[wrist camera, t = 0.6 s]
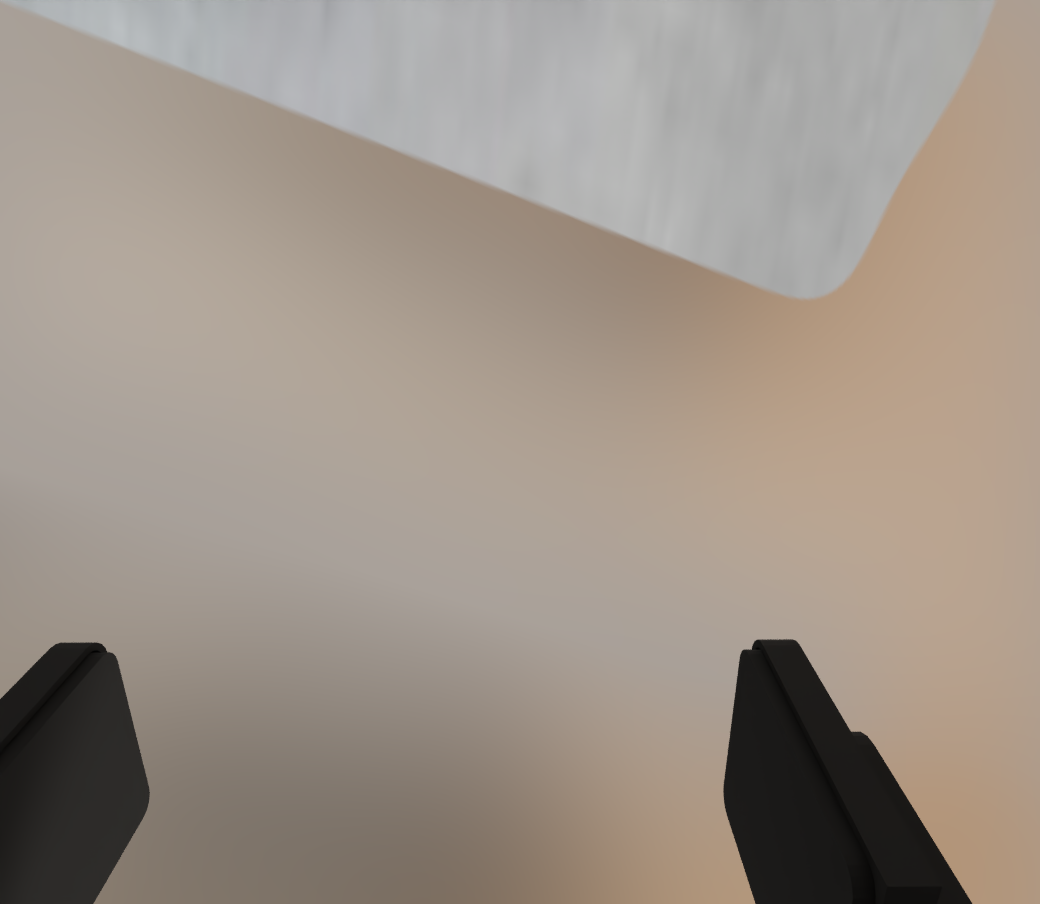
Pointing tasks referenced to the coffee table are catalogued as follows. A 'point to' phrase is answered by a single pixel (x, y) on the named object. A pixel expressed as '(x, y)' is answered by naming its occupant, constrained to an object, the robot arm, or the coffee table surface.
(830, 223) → the coffee table surface
